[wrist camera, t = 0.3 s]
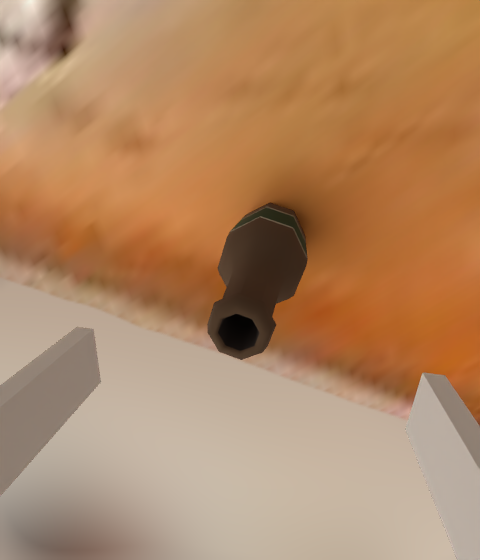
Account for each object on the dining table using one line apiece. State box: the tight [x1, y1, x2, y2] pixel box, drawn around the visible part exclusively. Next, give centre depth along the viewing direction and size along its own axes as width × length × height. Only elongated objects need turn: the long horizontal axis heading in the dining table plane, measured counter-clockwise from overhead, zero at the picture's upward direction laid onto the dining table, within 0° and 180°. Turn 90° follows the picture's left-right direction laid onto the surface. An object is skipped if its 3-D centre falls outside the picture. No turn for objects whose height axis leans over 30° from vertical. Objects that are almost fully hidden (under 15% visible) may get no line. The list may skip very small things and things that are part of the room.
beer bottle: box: [208, 203, 307, 360], centre depth 28 cm, size 8×8×24 cm
